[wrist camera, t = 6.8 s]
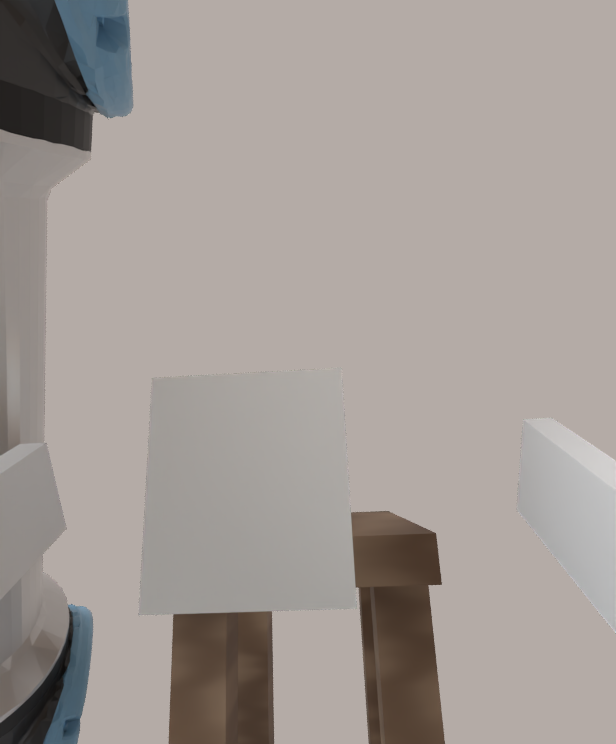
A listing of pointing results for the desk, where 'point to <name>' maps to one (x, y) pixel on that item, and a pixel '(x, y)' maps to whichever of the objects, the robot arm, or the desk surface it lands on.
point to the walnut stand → (379, 641)
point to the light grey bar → (247, 495)
